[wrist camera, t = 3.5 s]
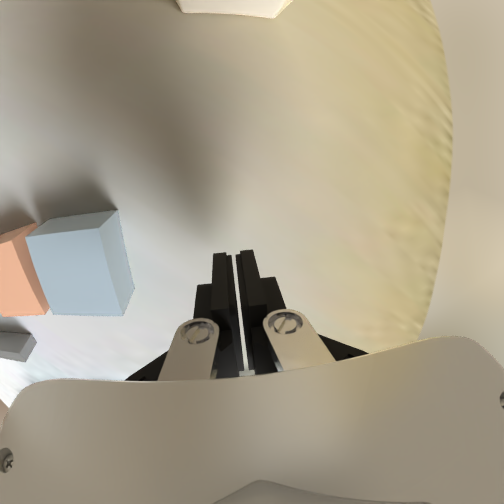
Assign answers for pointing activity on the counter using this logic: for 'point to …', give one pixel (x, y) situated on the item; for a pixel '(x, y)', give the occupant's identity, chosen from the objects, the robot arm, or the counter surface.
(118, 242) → the tile
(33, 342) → the tray
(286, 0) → the jar
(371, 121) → the counter surface
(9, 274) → the tile
